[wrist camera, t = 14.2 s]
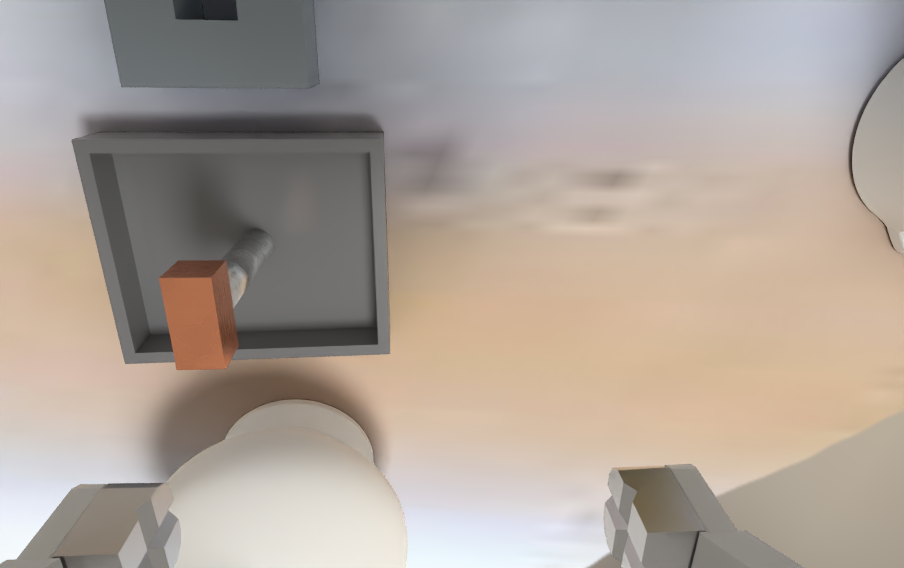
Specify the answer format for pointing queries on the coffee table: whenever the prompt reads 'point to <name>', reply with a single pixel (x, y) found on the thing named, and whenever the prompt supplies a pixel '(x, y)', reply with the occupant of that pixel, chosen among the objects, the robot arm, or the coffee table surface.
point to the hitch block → (214, 44)
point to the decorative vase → (288, 495)
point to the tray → (229, 217)
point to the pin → (210, 302)
